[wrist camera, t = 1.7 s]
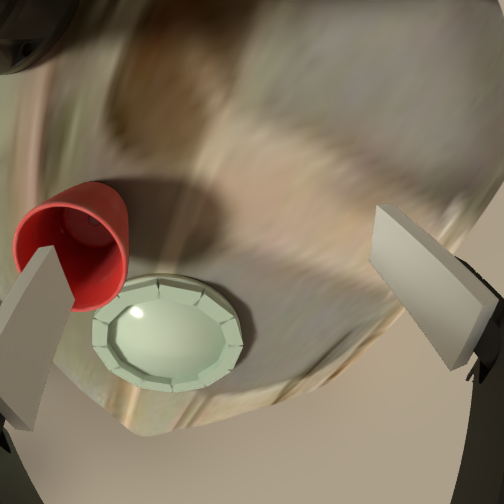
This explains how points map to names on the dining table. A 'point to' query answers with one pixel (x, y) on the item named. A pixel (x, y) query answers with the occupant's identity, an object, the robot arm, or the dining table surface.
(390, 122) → the dining table surface
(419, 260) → the robot arm
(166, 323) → the round tray
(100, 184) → the flower pot
